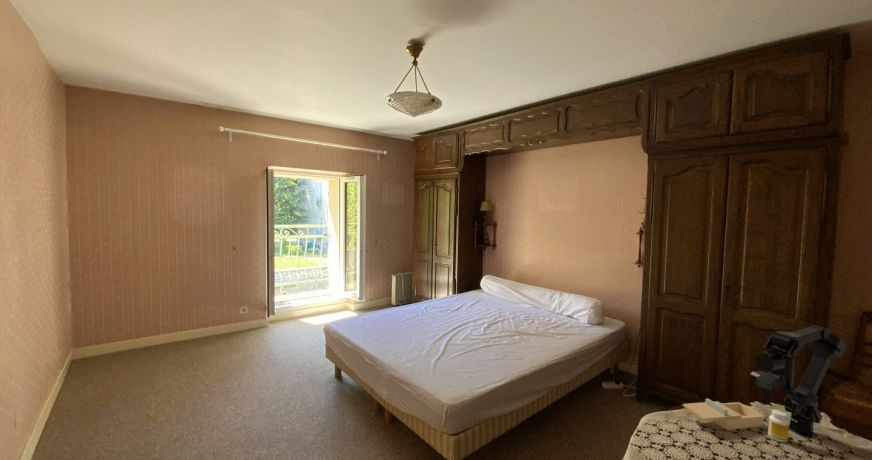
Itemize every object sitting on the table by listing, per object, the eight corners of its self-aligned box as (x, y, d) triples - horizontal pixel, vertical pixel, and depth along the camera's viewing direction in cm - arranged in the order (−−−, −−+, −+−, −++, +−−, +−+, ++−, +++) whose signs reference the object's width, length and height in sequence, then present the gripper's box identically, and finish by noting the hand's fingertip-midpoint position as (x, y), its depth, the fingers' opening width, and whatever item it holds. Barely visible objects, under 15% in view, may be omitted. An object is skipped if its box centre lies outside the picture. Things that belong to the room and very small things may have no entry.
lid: (717, 403, 147) (718, 396, 147) (741, 417, 137) (741, 410, 137) (682, 405, 145) (683, 399, 145) (704, 420, 135) (704, 413, 135)
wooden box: (738, 412, 149) (739, 402, 149) (763, 427, 139) (764, 416, 139) (704, 415, 147) (704, 404, 146) (726, 430, 137) (727, 419, 137)
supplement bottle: (791, 443, 130) (793, 417, 129) (774, 441, 131) (776, 415, 130) (780, 434, 135) (782, 409, 134) (764, 432, 136) (765, 407, 135)
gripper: (738, 358, 139) (736, 396, 140) (792, 381, 121) (789, 425, 122) (763, 356, 141) (761, 394, 142) (820, 379, 122) (816, 423, 123)
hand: (779, 408), depth 132 cm, fingers open, 9 cm apart
